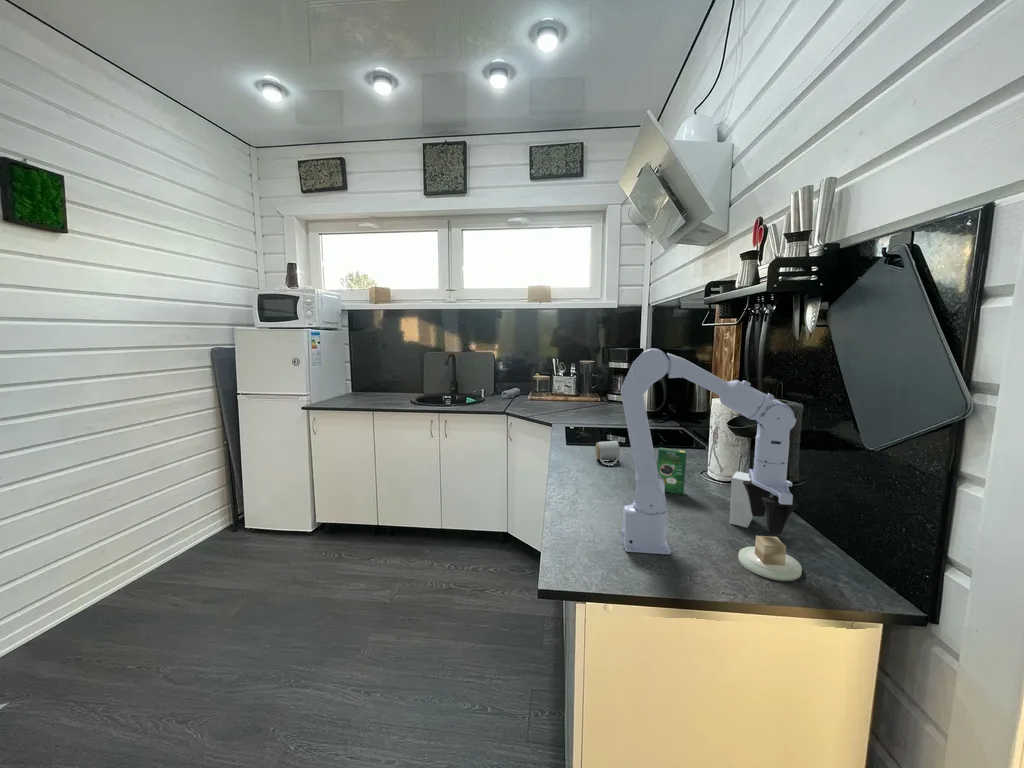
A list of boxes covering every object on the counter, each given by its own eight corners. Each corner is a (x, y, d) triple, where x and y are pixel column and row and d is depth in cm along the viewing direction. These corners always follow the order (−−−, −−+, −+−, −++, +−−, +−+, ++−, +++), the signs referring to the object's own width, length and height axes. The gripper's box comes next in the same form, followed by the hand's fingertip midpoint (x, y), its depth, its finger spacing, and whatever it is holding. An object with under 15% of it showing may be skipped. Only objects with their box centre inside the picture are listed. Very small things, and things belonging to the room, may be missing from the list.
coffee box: (685, 492, 123) (687, 449, 121) (684, 495, 120) (686, 452, 119) (656, 488, 126) (658, 446, 125) (655, 491, 124) (657, 449, 122)
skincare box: (733, 515, 107) (736, 470, 106) (752, 519, 105) (755, 474, 103) (728, 523, 103) (731, 477, 101) (747, 528, 100) (750, 481, 99)
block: (763, 564, 83) (764, 545, 82) (754, 553, 87) (755, 535, 86) (784, 565, 82) (786, 546, 82) (775, 554, 86) (776, 536, 86)
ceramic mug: (594, 457, 158) (594, 438, 157) (616, 457, 157) (616, 438, 156) (598, 467, 147) (599, 446, 146) (621, 467, 147) (622, 446, 146)
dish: (751, 578, 80) (751, 572, 80) (730, 549, 91) (730, 544, 91) (813, 583, 78) (814, 577, 78) (784, 552, 89) (784, 547, 89)
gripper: (813, 472, 75) (806, 543, 77) (775, 450, 89) (770, 510, 91) (771, 471, 76) (765, 540, 78) (740, 449, 90) (736, 508, 92)
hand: (765, 524), depth 84 cm, fingers open, 7 cm apart
